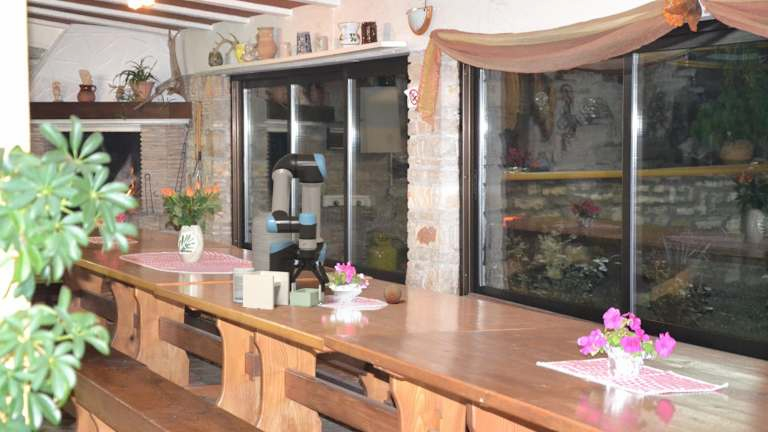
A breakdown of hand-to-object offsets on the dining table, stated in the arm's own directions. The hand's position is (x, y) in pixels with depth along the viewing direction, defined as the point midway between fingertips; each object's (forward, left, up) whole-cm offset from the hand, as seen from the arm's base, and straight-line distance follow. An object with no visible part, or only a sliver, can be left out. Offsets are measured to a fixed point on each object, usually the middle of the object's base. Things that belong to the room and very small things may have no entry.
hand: (307, 298), depth 452 cm
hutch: (+12, -14, -2) cm, 18 cm away
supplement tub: (+6, -28, -3) cm, 28 cm away
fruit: (-20, +31, -3) cm, 37 cm away
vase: (-80, -59, -3) cm, 99 cm away
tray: (0, 0, -2) cm, 2 cm away
